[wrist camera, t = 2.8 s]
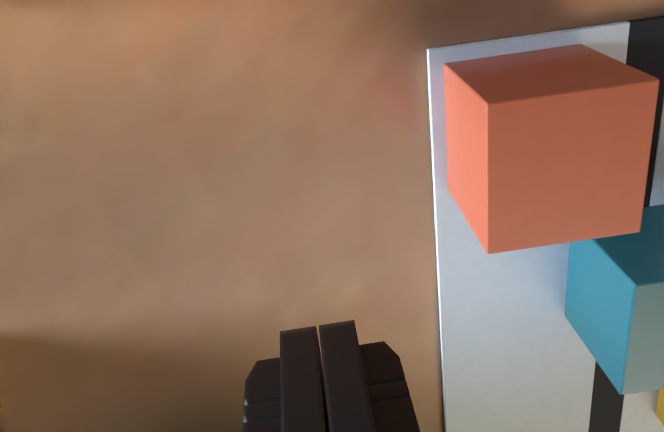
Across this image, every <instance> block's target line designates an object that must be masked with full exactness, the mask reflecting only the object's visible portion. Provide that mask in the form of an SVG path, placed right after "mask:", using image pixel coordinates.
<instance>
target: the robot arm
mask: <svg viewBox="0 0 664 432" xmlns="http://www.w3.org/2000/svg"><path fill="white" fill-rule="evenodd" d="M319 333H320V343H321V352H322V358H321V352H320V346H319V340H318V334H317V329H316V326H312V327H306V328H299V329H293V330H286V331H280V358H273V359H267V360H260V361H257V362H256V364H255V366H254V367H253V369H252V371H251V372H250V374H249V376H248V377H247V379H246V381H245V397H244V403H245V406H244V413H243V422H244V423H243V428H242V432H420V430H419V426H418V422H417V419H416V415H415V412H414V408H413V404H412V401H411V397H410V395H409V390H408V387H407V383H406V381H405V376H404V372H403V369H402V365H401V362H400V358H399V356H398V355H397V354H396V353H395V352H394V351H393V350H392V349H391V348H390V347H389V346H388V345H387V344H386V343H385V342H384V341H383V342H377V343H370V344H364V345H359V343H358V338H357V333H356V328H355V323H354V320H351V321H344V322H338V323H331V324H325V325H319ZM322 362H323V364H322Z"/></svg>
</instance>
